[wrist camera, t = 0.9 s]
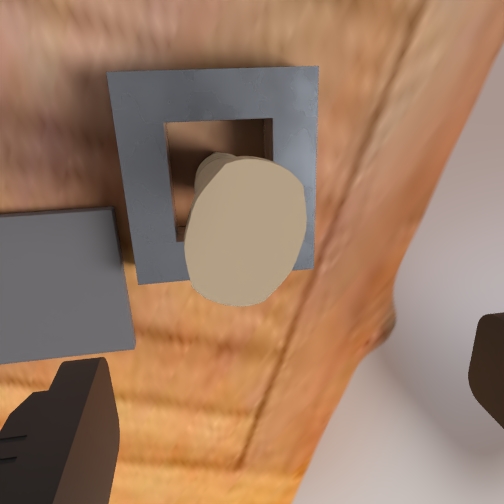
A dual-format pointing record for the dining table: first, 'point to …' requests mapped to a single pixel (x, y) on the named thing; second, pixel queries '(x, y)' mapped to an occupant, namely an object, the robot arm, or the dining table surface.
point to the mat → (62, 285)
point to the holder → (205, 109)
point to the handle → (243, 228)
